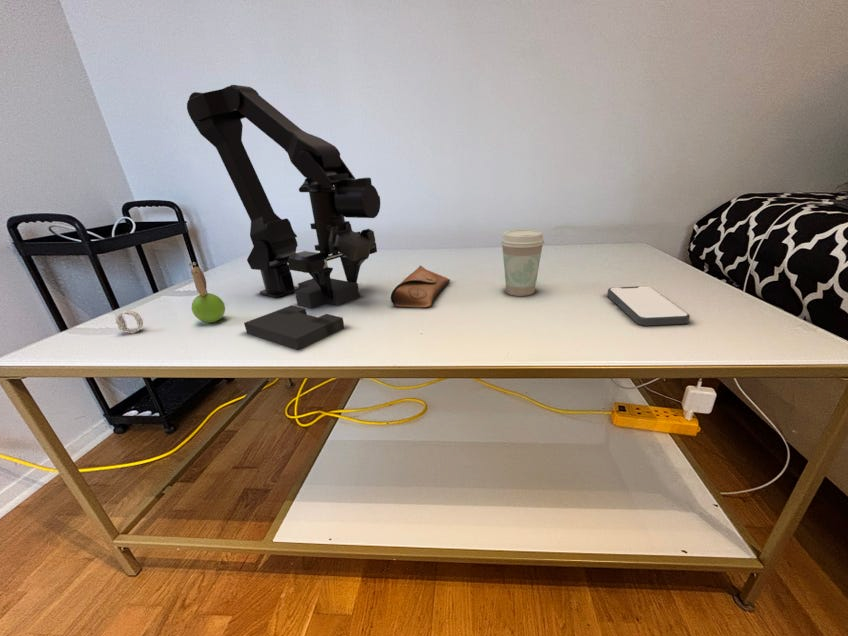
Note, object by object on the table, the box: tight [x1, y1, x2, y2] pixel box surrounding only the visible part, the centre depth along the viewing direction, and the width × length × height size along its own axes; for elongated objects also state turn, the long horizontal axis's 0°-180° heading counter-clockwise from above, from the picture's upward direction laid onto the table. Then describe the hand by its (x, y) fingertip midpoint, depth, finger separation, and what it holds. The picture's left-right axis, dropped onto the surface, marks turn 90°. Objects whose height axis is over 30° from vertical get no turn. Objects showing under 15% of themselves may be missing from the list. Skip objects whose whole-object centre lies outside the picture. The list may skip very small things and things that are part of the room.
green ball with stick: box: [187, 261, 226, 323], centre depth 75 cm, size 5×6×12 cm
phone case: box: [606, 285, 691, 327], centre depth 74 cm, size 9×2×16 cm
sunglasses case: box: [390, 265, 451, 309], centre depth 87 cm, size 18×7×7 cm
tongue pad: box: [294, 278, 361, 309], centre depth 87 cm, size 12×10×3 cm
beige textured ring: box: [114, 309, 144, 334], centre depth 74 cm, size 4×2×4 cm, turn 104°
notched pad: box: [243, 305, 345, 351], centre depth 72 cm, size 14×10×2 cm
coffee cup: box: [500, 229, 545, 297], centre depth 83 cm, size 9×9×12 cm
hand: (342, 294), depth 86 cm, fingers closed on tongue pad, 6 cm apart
